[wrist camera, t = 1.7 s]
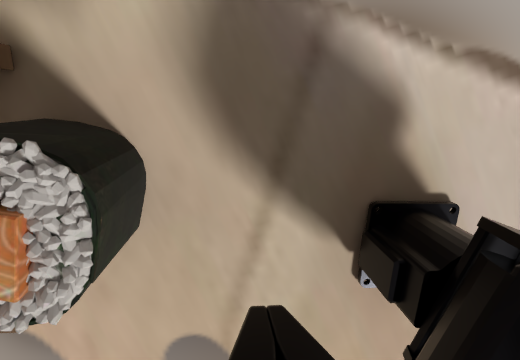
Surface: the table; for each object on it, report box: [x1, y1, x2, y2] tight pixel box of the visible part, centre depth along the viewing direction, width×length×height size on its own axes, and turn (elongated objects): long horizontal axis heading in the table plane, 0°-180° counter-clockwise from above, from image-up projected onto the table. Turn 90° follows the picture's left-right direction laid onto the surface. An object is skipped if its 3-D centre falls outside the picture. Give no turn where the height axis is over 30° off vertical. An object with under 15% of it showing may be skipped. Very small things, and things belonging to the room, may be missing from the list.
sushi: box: [0, 119, 146, 334], centre depth 14 cm, size 8×8×8 cm
